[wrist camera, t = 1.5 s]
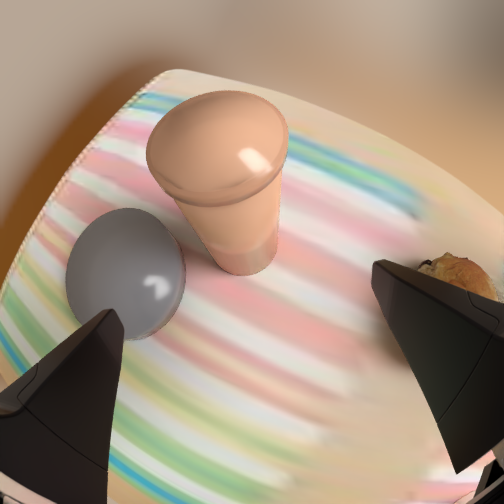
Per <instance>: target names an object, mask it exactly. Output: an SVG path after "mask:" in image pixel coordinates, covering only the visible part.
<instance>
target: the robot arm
mask: <svg viewBox="0 0 504 504" xmlns="http://www.w3.org/2000/svg"><path fill="white" fill-rule="evenodd" d="M371 285H372V289H373V291H374V293H375V296H376V298H377V300H378V302H379V305H380V307H381V309H382V312H383V314H384V317H385V319H386V321H387V323H388V325H389V327H390V329H391V331H392V333H393V334H394V336H395V338H396V340H397V342H398V344H399V346H400V347H401V349H402V351H403V353H404V355H405V357H406V359H407V361H408V363H409V365H410V367H411V369H412V371H413V373H414V375H415V377H416V379H417V381H418V383H419V385H420V387H421V389H422V392H423V394H424V396H425V398H426V400H427V402H428V405H429V407H430V409H431V411H432V414H433V416H434V418H435V421H436V423H437V426H438V428H439V431H440V433H441V436H442V438H443V441H444V443H445V446H446V448H447V451H448V454H449V456H450V459H451V462H452V465H453V467H454V470H455V472H456V474H458V473H460V472H461V471H463V470H465V469H466V468H468V467H469V466H470V465H472V464H473V463H475V462H476V461H478V460H479V459H480V458H482V457H483V456H484V455H486V454H487V453H488V452H490V451H491V450H492V451H493V453H494V455H495V457H496V458H495V459H494V460H493V461H492V462H490V463H489V464H488V465H487V466H485V467H484V470H483V473H482V476H481V479H480V481H479V484H478V487H477V489H476V492H475V494H474V497H473V499H471V500H470V501H468V502H467V503H466V504H504V304H503V303H500V302H497V301H494V300H492V299H489V298H486V297H483V296H481V295H478V294H476V293H473V292H471V291H468V290H467V291H466V290H465V289H463V288H460V287H458V286H455V285H453V284H450V283H448V282H445V281H442V280H440V279H437V278H435V277H432V276H429V275H427V274H424V273H421V272H419V271H416V270H413V269H410V268H408V267H405V266H402V265H399V264H397V263H394V262H391V261H388V260H385V259H382V260H378V261H375V262H374V263H373V266H372V280H371ZM124 334H125V330H124V326H123V324H122V322H121V320H120V318H119V316H118V314H117V313H116V311H115V310H114V309H112V308H110V309H104V310H102V311H101V312H99V313H98V314H97V315H95V316H94V317H93V318H92V319H90V320H89V321H88V322H87V323H85V324H84V325H83V326H81V327H80V328H79V329H78V330H76V331H75V332H74V333H73V334H71V335H70V336H69V337H68V338H67V339H65V340H64V341H63V342H62V343H60V344H59V345H58V346H57V347H56V348H54V349H53V350H52V351H51V352H50V353H48V354H47V355H46V356H45V357H44V358H42V359H41V360H40V361H39V363H36V364H35V365H34V366H33V367H32V368H31V369H29V370H28V371H27V372H26V373H25V374H23V375H22V376H21V377H20V378H18V379H17V380H16V381H15V382H13V383H12V384H11V385H10V386H8V387H7V388H6V389H4V390H3V391H2V392H1V393H0V504H107V483H108V472H107V471H108V462H109V450H110V439H111V430H112V422H113V414H114V407H115V400H116V394H117V388H118V382H119V376H120V371H121V363H122V352H123V342H124Z"/></svg>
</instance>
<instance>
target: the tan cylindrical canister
mask: <svg viewBox="0 0 504 504" xmlns="http://www.w3.org/2000/svg"><path fill="white" fill-rule="evenodd" d="M287 150H288V127H287V124H286V121H285V119H284V117H283V115H282V114H281V112H280V111H279V110H278V109H277V108H276V107H275V106H274V105H273V104H271V103H270V102H269V101H267V100H265V99H263V98H261V97H259V96H257V95H254V94H251V93H247V92H241V91H215V92H210V93H205V94H202V95H198V96H196V97H193V98H190V99H188V100H186V101H184V102H182V103H181V104H179V105H177V106H176V107H174V108H173V109H172V110H170V111H169V112H168V113H167V114H166V115H165V116H164V117H163V118H162V119H161V120H160V121H159V122H158V123H157V125H156V126H155V128H154V129H153V131H152V133H151V135H150V137H149V140H148V143H147V147H146V161H147V165H148V168H149V170H150V172H151V174H152V175H153V177H154V178H155V180H156V181H157V183H158V184H159V186H160V187H161V188H162V190H163V191H164V192H166V193H167V194H168V195H169V196H171V197H172V198H173V199H174V200H175V202H176V203H177V205H178V206H179V208H180V209H181V211H182V212H183V214H184V215H185V217H186V218H187V220H188V222H189V223H190V225H191V226H192V228H193V229H194V230H195V232H196V233H197V235H198V236H199V238H200V239H201V241H202V242H203V244H204V245H205V247H206V248H207V250H208V251H209V253H210V254H211V256H212V257H213V258H214V260H215V261H216V263H217V264H218V265H219V266H220V267H221V268H222V269H223V270H225V271H226V272H228V273H231V274H233V275H238V276H248V275H253V274H256V273H258V272H260V271H262V270H263V269H265V268H266V267H267V266H268V265H269V264H270V263H271V261H272V260H273V258H274V256H275V254H276V251H277V244H278V229H279V213H280V195H281V176H282V168H283V165H284V163H285V161H286V157H287Z"/></svg>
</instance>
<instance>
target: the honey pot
mask: <svg viewBox="0 0 504 504" xmlns="http://www.w3.org/2000/svg"><path fill="white" fill-rule="evenodd" d="M475 492H476V490H475V491H472V492H471V493H469V494H467V495H466V496H464V497H462V498H461V499H459V500H458V501H457V502H455V503H454V504H466V503H467V502H468V501H470V500H471V499H473V497H474V494H475Z"/></svg>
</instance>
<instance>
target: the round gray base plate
mask: <svg viewBox="0 0 504 504" xmlns="http://www.w3.org/2000/svg"><path fill="white" fill-rule="evenodd" d="M185 282H186V267H185V261H184V256H183V253H182V250H181V248H180V246H179V244H178V242H177V241H176V239H175V238H174V237H173V235H172V234H171V233H170V232H169V231H168V230H167V229H166V227H165V226H164V225H163V224H162V223H161V222H160V221H159V220H158V219H157V218H156V217H154V216H153V215H151V214H149V213H148V212H145V211H143V210H140V209H134V208H123V209H117V210H113V211H111V212H108V213H106V214H104V215H102V216H100V217H99V218H97V219H96V220H95V221H93V222H92V223H91V224H90V225H89V226H88V227H87V228H86V229H85V230H84V231H83V233H82V234H81V235H80V237H79V238H78V240H77V242H76V243H75V245H74V247H73V249H72V252H71V254H70V257H69V261H68V265H67V271H66V292H67V297H68V301H69V304H70V307H71V309H72V311H73V313H74V315H75V317H76V318H77V320H78V321H79V322H80V324H81V325H82V326H83V325H84V324H85V323H87V322H88V321H89V320H90V319H92V318H93V317H94V316H95V315H97V314H98V313H99V312H101V311H102V310H104V309H110V308H112V309H114V310H115V311H116V313H117V314H118V316H119V318H120V320H121V322H122V324H123V326H124V330H125V334H124V340H138V339H143V338H145V337H148V336H150V335H152V334H154V333H156V332H157V331H158V330H160V329H161V328H162V327H163V326H164V325H165V324H166V323H167V322H168V321H169V320H170V319H171V317H172V316H173V315H174V313H175V312H176V310H177V308H178V306H179V304H180V302H181V299H182V296H183V293H184V288H185Z"/></svg>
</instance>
